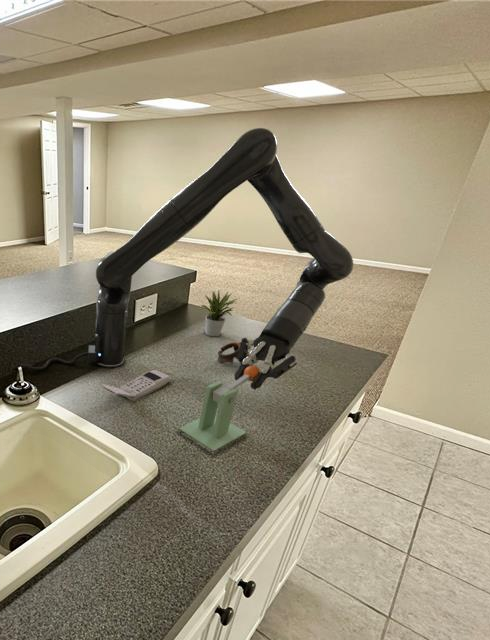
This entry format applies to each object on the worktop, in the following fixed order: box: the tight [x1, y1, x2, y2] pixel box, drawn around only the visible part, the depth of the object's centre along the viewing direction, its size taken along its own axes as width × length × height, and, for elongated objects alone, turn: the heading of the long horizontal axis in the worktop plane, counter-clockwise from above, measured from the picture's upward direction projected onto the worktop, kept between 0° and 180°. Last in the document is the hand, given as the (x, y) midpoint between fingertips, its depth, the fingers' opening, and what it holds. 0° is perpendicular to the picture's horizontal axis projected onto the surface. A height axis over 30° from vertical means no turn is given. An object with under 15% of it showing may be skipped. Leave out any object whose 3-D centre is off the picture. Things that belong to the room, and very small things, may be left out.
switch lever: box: [212, 365, 261, 405], centre depth 91 cm, size 14×4×4 cm, turn 126°
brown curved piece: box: [217, 341, 250, 365], centre depth 127 cm, size 12×10×8 cm
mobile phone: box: [101, 369, 174, 402], centre depth 109 cm, size 6×6×25 cm
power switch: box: [178, 380, 248, 452], centre depth 91 cm, size 12×10×13 cm
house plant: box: [200, 289, 238, 337], centre depth 144 cm, size 14×14×16 cm
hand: (244, 383), depth 93 cm, fingers closed on switch lever, 3 cm apart
